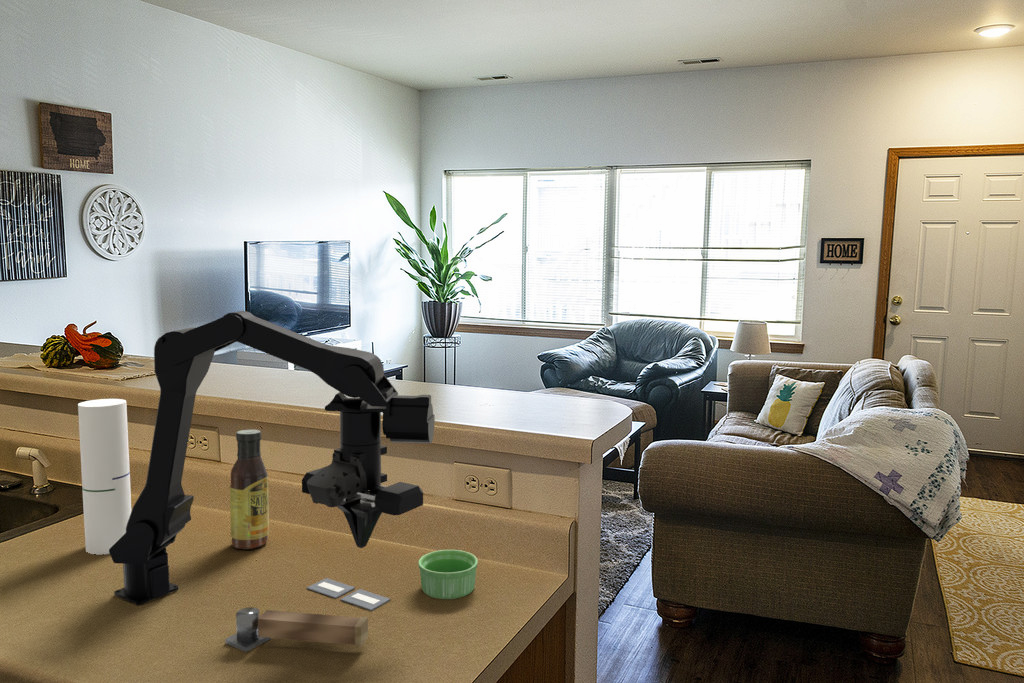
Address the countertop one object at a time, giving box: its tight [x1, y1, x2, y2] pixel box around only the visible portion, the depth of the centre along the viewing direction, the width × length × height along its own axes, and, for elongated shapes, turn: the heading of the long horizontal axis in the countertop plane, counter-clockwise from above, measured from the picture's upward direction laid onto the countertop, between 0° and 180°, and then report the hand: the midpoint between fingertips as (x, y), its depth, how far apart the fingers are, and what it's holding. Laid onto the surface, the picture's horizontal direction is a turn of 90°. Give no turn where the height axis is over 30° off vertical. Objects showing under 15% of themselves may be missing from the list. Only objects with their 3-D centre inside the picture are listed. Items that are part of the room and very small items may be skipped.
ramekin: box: [417, 549, 479, 600], centre depth 114 cm, size 9×9×4 cm
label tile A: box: [306, 577, 356, 599], centre depth 113 cm, size 6×4×1 cm, turn 58°
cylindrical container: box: [77, 398, 132, 556], centre depth 127 cm, size 7×7×25 cm
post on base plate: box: [224, 606, 272, 653], centre depth 97 cm, size 4×4×4 cm
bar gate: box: [258, 609, 369, 648], centre depth 96 cm, size 14×3×3 cm, turn 82°
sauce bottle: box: [229, 429, 270, 550], centre depth 129 cm, size 6×6×20 cm
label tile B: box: [340, 588, 391, 612], centre depth 109 cm, size 6×4×1 cm, turn 58°
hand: (361, 546), depth 108 cm, fingers closed
